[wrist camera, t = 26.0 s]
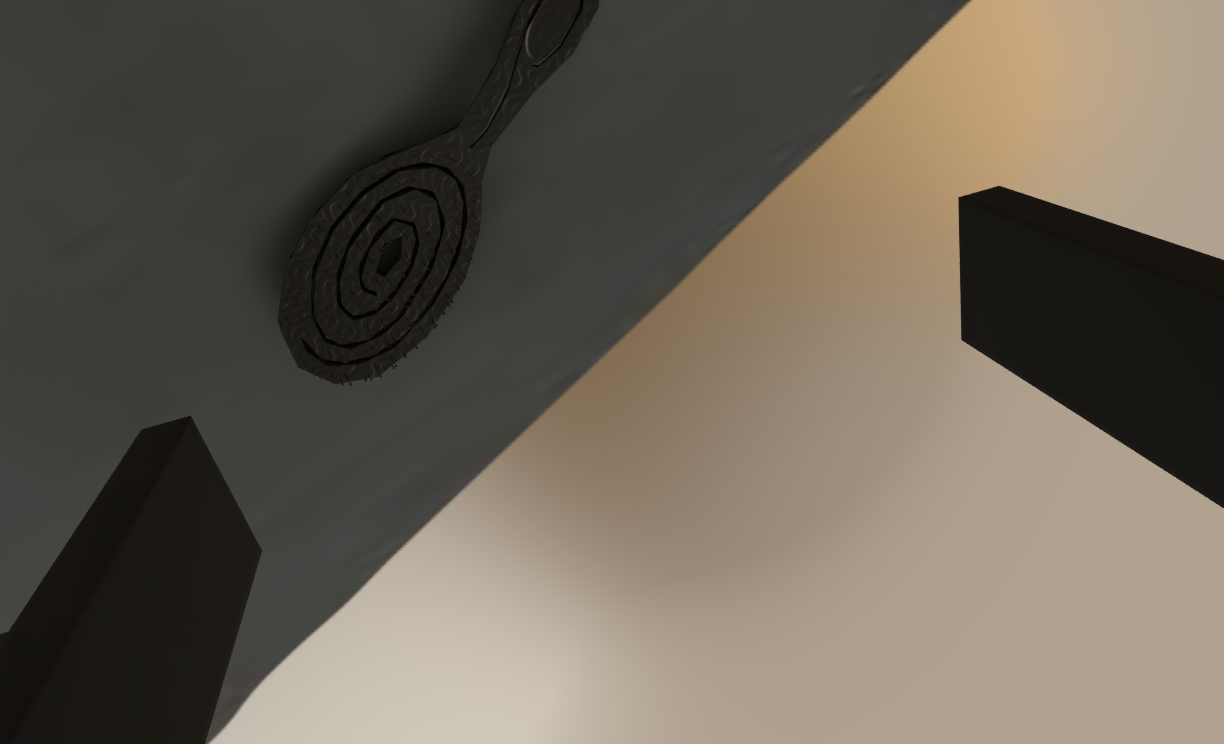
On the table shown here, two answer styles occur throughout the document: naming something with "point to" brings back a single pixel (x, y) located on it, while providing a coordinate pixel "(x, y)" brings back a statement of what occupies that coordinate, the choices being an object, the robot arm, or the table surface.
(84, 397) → the table surface
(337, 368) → the hairbrush
